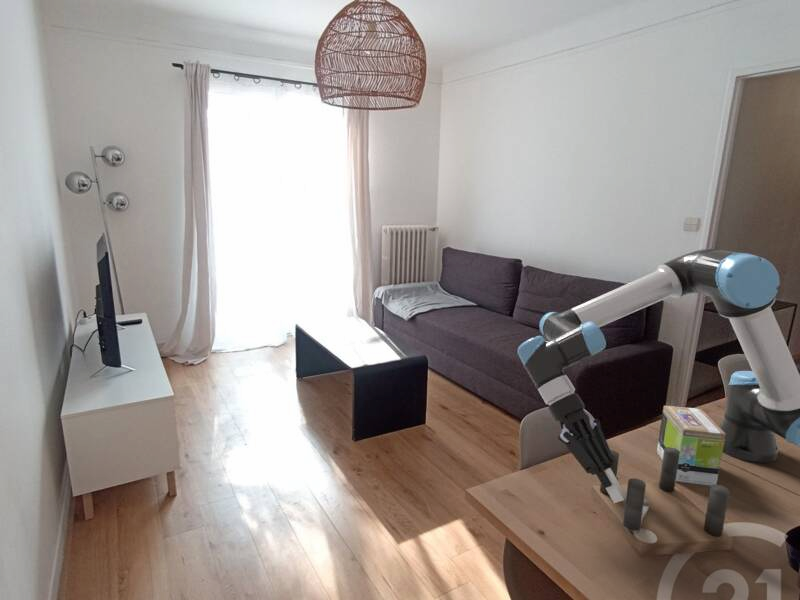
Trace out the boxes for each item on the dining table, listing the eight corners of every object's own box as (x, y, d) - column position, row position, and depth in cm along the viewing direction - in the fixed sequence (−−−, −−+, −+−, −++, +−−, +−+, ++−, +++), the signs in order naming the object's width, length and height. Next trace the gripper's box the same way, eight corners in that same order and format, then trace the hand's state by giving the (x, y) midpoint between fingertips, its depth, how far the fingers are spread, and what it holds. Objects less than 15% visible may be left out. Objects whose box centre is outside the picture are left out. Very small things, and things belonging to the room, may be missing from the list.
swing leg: (636, 500, 108) (642, 457, 106) (652, 506, 106) (658, 462, 104) (620, 530, 98) (626, 483, 96) (637, 537, 96) (643, 489, 94)
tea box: (718, 487, 118) (727, 433, 115) (674, 482, 120) (682, 429, 117) (694, 455, 132) (701, 407, 129) (655, 451, 134) (662, 403, 131)
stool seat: (668, 490, 116) (674, 444, 114) (731, 549, 97) (741, 495, 94) (590, 495, 114) (595, 448, 112) (639, 556, 95) (646, 501, 92)
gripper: (568, 399, 116) (624, 494, 106) (533, 412, 108) (590, 515, 99) (589, 386, 110) (651, 485, 101) (554, 398, 103) (617, 507, 93)
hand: (620, 500), depth 100 cm, fingers closed
